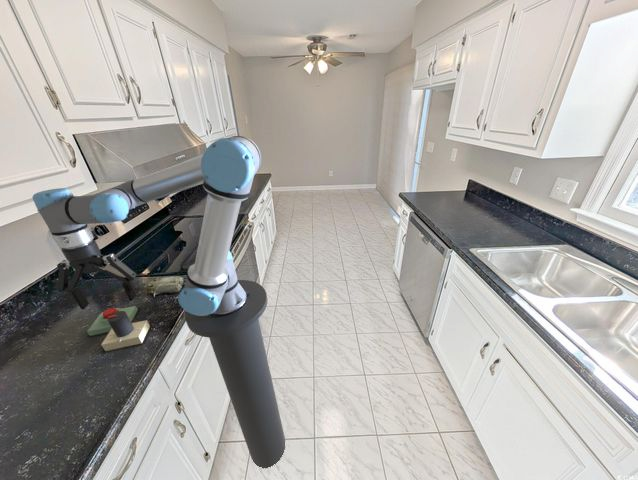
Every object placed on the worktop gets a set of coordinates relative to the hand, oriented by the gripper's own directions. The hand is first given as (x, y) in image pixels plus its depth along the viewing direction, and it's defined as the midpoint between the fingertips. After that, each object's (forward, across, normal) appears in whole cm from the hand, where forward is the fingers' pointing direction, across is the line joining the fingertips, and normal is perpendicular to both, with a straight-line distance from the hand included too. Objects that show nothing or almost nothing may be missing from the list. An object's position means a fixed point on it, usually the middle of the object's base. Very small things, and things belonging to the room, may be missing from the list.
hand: (109, 302), depth 81 cm
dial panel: (+15, 0, -1) cm, 15 cm away
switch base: (+15, -8, +10) cm, 20 cm away
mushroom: (+15, +6, +26) cm, 31 cm away
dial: (+12, 0, -1) cm, 12 cm away
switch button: (+12, -8, +10) cm, 17 cm away
